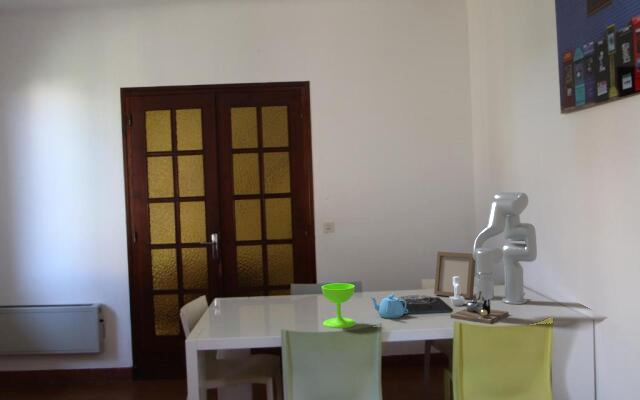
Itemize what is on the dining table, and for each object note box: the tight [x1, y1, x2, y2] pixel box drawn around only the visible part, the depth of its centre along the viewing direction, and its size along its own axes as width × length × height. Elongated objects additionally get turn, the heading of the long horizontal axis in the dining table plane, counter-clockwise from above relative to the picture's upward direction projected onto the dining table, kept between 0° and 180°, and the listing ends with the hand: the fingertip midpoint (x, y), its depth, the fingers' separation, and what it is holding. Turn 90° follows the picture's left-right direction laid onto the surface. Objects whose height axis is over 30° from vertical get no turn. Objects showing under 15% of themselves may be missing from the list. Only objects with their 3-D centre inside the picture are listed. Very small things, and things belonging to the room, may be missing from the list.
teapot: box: [369, 291, 409, 319], centre depth 280 cm, size 15×15×10 cm
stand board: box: [450, 307, 510, 325], centre depth 273 cm, size 21×20×2 cm
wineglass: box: [321, 282, 357, 329], centre depth 268 cm, size 16×16×18 cm
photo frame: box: [433, 251, 477, 300], centre depth 322 cm, size 15×22×25 cm
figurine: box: [448, 276, 466, 307], centre depth 299 cm, size 7×9×15 cm
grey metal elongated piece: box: [466, 299, 487, 316], centre depth 272 cm, size 19×7×5 cm, turn 3°
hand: (486, 313), depth 270 cm, fingers closed
